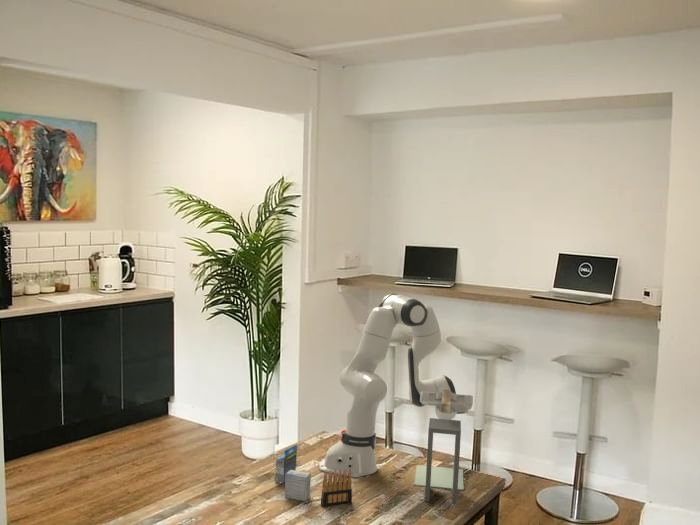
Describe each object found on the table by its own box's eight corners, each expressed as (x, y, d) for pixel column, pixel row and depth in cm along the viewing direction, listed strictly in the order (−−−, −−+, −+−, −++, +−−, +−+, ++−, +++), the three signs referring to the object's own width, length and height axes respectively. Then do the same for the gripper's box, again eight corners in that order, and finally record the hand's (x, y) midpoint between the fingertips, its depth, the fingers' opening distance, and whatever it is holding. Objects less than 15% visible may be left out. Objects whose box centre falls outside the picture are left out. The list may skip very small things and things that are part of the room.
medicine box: (310, 497, 236) (311, 472, 236) (305, 502, 232) (306, 477, 232) (289, 493, 239) (290, 469, 238) (284, 498, 235) (285, 473, 234)
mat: (413, 485, 251) (414, 484, 250) (416, 465, 270) (416, 464, 270) (463, 490, 248) (463, 489, 248) (462, 470, 268) (462, 469, 268)
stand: (424, 501, 237) (428, 428, 235) (426, 487, 249) (429, 418, 247) (456, 504, 235) (460, 430, 234) (456, 490, 247) (460, 420, 245)
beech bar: (441, 411, 241) (441, 403, 241) (442, 396, 261) (442, 389, 261) (449, 412, 241) (450, 404, 241) (450, 397, 261) (450, 389, 260)
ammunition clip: (349, 501, 234) (351, 467, 234) (351, 503, 233) (353, 469, 232) (320, 505, 230) (322, 470, 229) (322, 507, 229) (323, 472, 228)
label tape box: (286, 473, 256) (288, 441, 255) (296, 476, 255) (297, 443, 254) (274, 481, 248) (275, 448, 248) (283, 484, 247) (285, 450, 246)
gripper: (420, 393, 273) (419, 384, 260) (472, 398, 270) (473, 388, 257) (419, 409, 270) (418, 400, 258) (471, 413, 267) (473, 404, 255)
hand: (446, 394), depth 258 cm, fingers closed on beech bar, 3 cm apart
